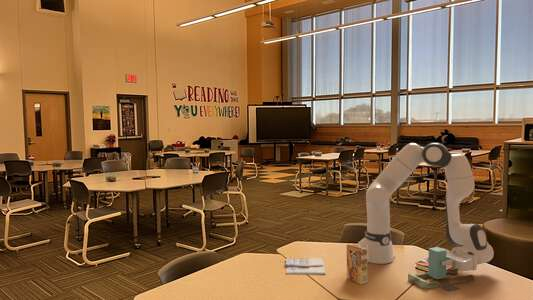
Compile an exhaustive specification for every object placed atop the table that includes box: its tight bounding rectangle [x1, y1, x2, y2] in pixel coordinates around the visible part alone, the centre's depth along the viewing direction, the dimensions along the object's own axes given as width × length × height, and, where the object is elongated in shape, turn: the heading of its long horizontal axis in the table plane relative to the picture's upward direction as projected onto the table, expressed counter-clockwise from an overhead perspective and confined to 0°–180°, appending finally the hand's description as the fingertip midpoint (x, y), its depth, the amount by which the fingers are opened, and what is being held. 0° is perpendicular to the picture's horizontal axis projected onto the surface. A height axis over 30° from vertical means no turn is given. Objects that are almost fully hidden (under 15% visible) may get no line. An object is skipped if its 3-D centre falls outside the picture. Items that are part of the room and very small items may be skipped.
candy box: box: [346, 243, 368, 285], centre depth 178 cm, size 9×4×15 cm, turn 33°
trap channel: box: [407, 267, 475, 292], centre depth 178 cm, size 21×26×3 cm
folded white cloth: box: [285, 257, 326, 276], centre depth 197 cm, size 19×20×2 cm
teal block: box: [428, 246, 447, 280], centre depth 177 cm, size 5×5×12 cm
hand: (435, 260), depth 177 cm, fingers closed on teal block, 5 cm apart
